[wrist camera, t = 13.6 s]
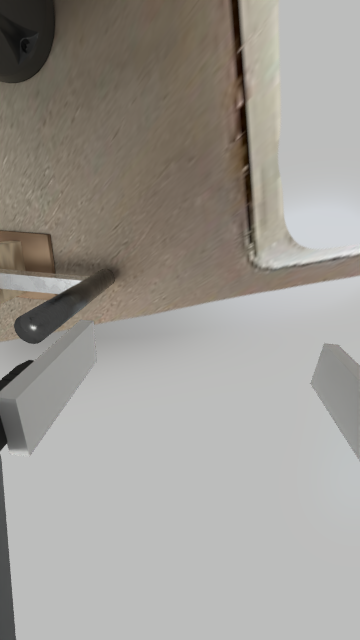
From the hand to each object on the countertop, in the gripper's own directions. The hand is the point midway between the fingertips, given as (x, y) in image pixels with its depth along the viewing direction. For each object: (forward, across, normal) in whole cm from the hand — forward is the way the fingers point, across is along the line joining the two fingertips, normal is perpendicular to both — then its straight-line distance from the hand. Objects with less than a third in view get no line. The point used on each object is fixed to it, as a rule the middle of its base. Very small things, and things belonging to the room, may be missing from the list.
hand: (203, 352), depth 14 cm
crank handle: (+29, -24, -4) cm, 37 cm away
